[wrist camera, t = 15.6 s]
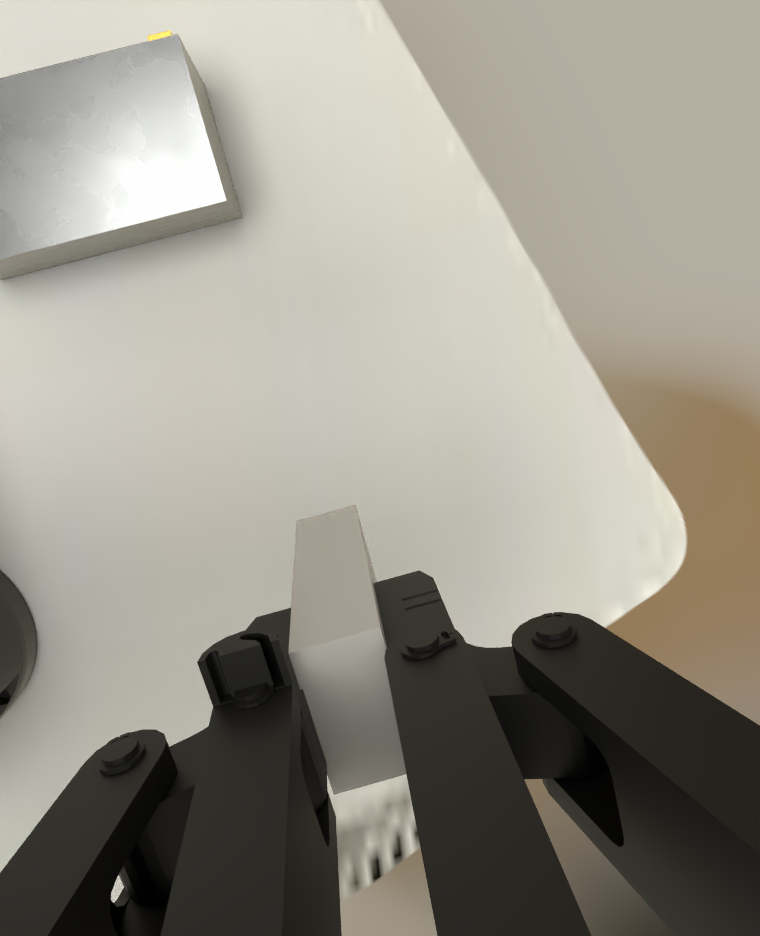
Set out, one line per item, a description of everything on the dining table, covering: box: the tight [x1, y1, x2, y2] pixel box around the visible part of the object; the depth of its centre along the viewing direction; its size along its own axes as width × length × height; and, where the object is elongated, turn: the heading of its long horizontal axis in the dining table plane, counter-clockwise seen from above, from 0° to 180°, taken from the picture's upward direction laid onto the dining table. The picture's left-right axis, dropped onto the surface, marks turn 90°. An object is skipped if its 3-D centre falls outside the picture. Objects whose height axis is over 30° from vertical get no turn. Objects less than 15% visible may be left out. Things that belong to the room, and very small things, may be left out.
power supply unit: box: [0, 31, 243, 280], centre depth 40 cm, size 16×9×9 cm, turn 104°
